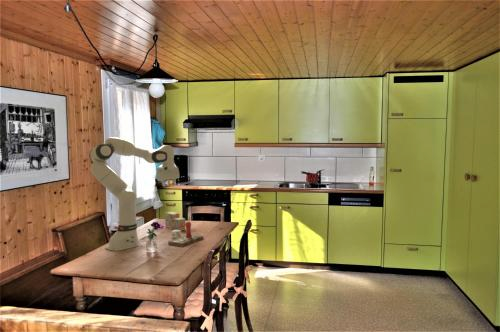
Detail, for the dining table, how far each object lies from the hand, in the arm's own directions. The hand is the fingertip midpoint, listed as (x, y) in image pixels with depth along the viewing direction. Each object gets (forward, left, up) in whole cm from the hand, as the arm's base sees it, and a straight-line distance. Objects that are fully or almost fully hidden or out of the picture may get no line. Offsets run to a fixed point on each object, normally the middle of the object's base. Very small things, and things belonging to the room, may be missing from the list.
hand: (168, 185), depth 290 cm
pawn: (-6, -23, -35) cm, 42 cm away
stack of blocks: (+16, +10, -37) cm, 42 cm away
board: (-9, -23, -37) cm, 45 cm away
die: (-4, -9, -37) cm, 38 cm away
